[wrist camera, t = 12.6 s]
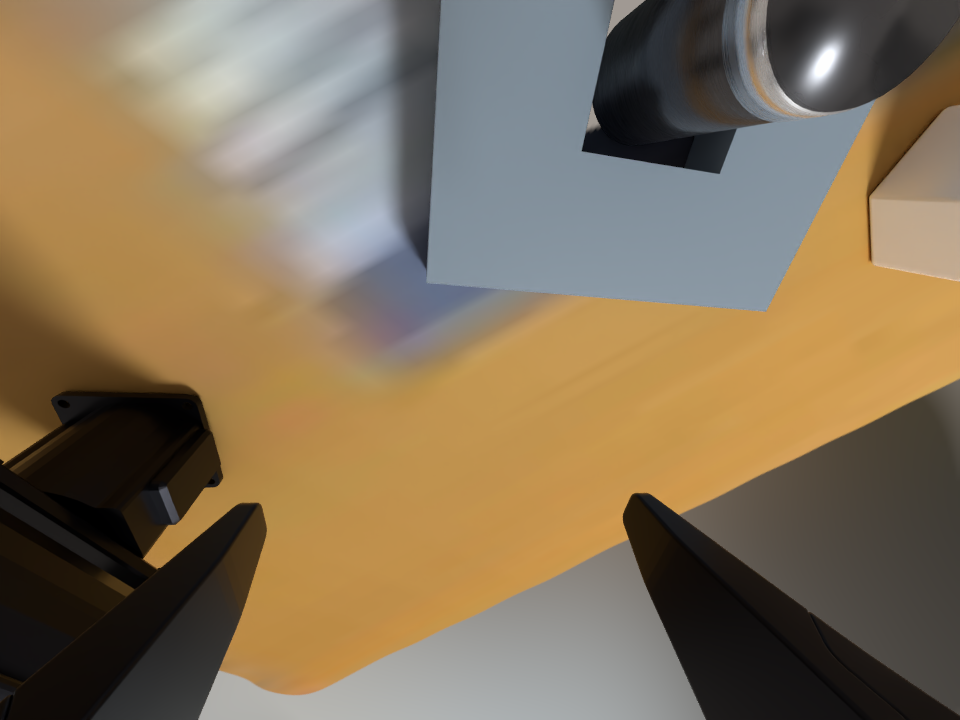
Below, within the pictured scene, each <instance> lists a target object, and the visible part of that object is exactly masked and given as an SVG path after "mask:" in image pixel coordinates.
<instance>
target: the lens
mask: <svg viewBox="0 0 960 720" xmlns="http://www.w3.org/2000/svg"><path fill="white" fill-rule="evenodd" d="M959 16H960V0H646V1H644V2H643V3H642V4H641V5H639V6H638V7H637V8H636V9H634V10H633V11H632V12H631V13H630V14H629V15H627V16H626V17H625V18H624V19H622V20H621V21H620V22H619V23H618V24H617V25H616V26H615V27H614V28H613V30H612V31H611V32H610V34H609V35H608V37H607V38H606V41H605V46H604V50H603V55H602V60H601V64H600V69H599V73H598V78H597V83H596V87H595V92H594V96H593V101H592V103H593V108H594V112H595V115H596V118H597V120H598V122H599V124H600V126H601V127H602V129H603V130H604V131H605V133H606V134H607V135H608V136H609V137H611V138H612V139H614V140H615V141H617V142H619V143H621V144H625V145H633V146H634V145H643V144H649V143H655V142H661V141H667V140H672V139H678V138H684V137H690V136H696V135H702V134H708V133H713V132H719V131H725V130H731V129H737V128H743V127H749V126H755V125H760V124H766V123H772V122H790V121H796V120H802V119H808V118H815V117H821V116H827V115H833V114H838V113H842V112H846V111H849V110H852V109H854V108H857V107H859V106H862V105H864V104H866V103H869V102H871V101H873V100H875V99H877V98H879V97H880V96H882V95H884V94H885V93H887V92H888V91H890V90H891V89H893V88H894V87H896V86H897V85H898V84H900V83H901V82H902V81H903V80H905V79H906V78H907V77H908V76H909V75H911V74H912V73H913V72H914V71H915V70H916V69H917V68H918V67H919V66H920V65H921V64H922V63H923V62H924V61H925V60H926V59H927V58H928V57H929V55H930V54H931V53H932V52H933V51H934V50H935V49H936V48H937V46H938V45H939V44H940V43H941V41H942V40H943V39H944V37H945V36H946V35H947V34H948V32H949V31H950V29H951V28H952V27H953V25H954V24H955V22H956V21H957V19H958V18H959Z"/></svg>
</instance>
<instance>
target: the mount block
mask: <svg viewBox="0 0 960 720" xmlns="http://www.w3.org/2000/svg"><path fill="white" fill-rule="evenodd" d="M613 5H614V0H441V1H440V20H439V39H438V58H437V78H436V97H435V116H434V135H433V155H432V174H431V193H430V212H429V232H428V251H427V283H433V284H445V285H457V286H469V287H481V288H493V289H504V290H516V291H528V292H540V293H552V294H564V295H576V296H587V297H599V298H611V299H623V300H635V301H647V302H659V303H670V304H682V305H694V306H706V307H718V308H730V309H742V310H753V311H765V312H766V310H767V308H768V306H769V305H770V303H771V301H772V299H773V297H774V295H775V293H776V291H777V289H778V287H779V285H780V283H781V281H782V279H783V277H784V276H785V274H786V272H787V270H788V268H789V266H790V264H791V262H792V260H793V258H794V256H795V254H796V252H797V250H798V248H799V247H800V245H801V243H802V241H803V239H804V237H805V235H806V233H807V231H808V229H809V227H810V225H811V223H812V221H813V219H814V218H815V216H816V214H817V212H818V210H819V208H820V206H821V204H822V202H823V200H824V198H825V196H826V194H827V192H828V190H829V188H830V187H831V185H832V183H833V181H834V179H835V177H836V175H837V173H838V171H839V169H840V167H841V165H842V163H843V161H844V159H845V158H846V156H847V154H848V152H849V150H850V148H851V146H852V144H853V142H854V140H855V138H856V136H857V134H858V132H859V130H860V129H861V127H862V125H863V123H864V121H865V119H866V117H867V115H868V113H869V111H870V109H871V107H872V105H873V103H874V101H875V100H876V99H875V100H873V101H871V102H869V103H866V104H864V105H862V106H859V107H857V108H854V109H852V110H849V111H846V112H842V113H838V114H833V115H827V116H821V117H815V118H808V119H802V120H796V121H790V122H772V123H766V124H760V125H755V126H749V127H743V128H737V129H731V130H725V131H719V132H713V133H708V134H702V135H696V136H695V137H694V140H693V143H692V146H691V149H690V152H689V155H688V158H687V161H686V164H685V167H684V168H679V167H673V166H667V165H660V164H654V163H648V162H642V161H636V160H630V159H624V158H618V157H612V156H606V155H600V154H594V153H588V152H582V147H583V142H584V138H585V133H586V128H587V124H588V119H589V115H590V110H591V105H592V101H593V96H594V92H595V87H596V83H597V78H598V73H599V69H600V64H601V60H602V55H603V50H604V46H605V41H606V36H607V31H608V28H609V23H610V18H611V14H612V9H613Z"/></svg>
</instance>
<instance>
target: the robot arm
mask: <svg viewBox="0 0 960 720" xmlns="http://www.w3.org/2000/svg"><path fill="white" fill-rule="evenodd" d="M51 402H52V405H53V407H54V409H55V411H56V413H57V414H58V416H59V418H60V420H61V422H62V424H63V425H61V426H60V427H58V428H57V429H55V430H54V431H52V432H51V433H49V434H48V435H46V436H45V437H43V438H42V439H40V440H39V441H37V442H36V443H34V444H33V445H32V446H30V447H29V448H27V449H26V450H24V451H23V452H21V453H20V454H18V455H17V456H15V457H14V458H12V459H11V460H9V461H8V462H6V463H5V464H3V463H4V461H2V460H1V459H0V720H198V718H199V716H200V714H201V711H202V709H203V706H204V704H205V702H206V699H207V697H208V695H209V692H210V690H211V687H212V685H213V683H214V680H215V678H216V675H217V673H218V671H219V668H220V666H221V664H222V661H223V659H224V656H225V654H226V652H227V649H228V647H229V645H230V642H231V640H232V637H233V635H234V633H235V630H236V628H237V625H238V623H239V620H240V618H241V615H242V612H243V609H244V606H245V603H246V600H247V597H248V593H249V590H250V587H251V584H252V580H253V577H254V574H255V571H256V567H257V564H258V561H259V558H260V554H261V551H262V548H263V545H264V541H265V538H266V532H267V527H266V522H265V518H264V514H263V509H262V506H261V504H259V503H240V504H238V505H236V506H235V507H233V508H232V509H231V510H230V511H229V512H227V513H226V514H225V515H224V516H223V517H221V518H220V519H219V520H218V521H217V522H215V523H214V524H213V525H212V526H211V527H209V528H208V529H207V530H206V531H205V532H203V533H202V534H201V535H200V536H199V537H197V538H196V539H195V540H194V541H193V542H191V543H190V544H189V545H188V546H187V547H185V548H184V549H183V550H182V551H181V552H179V553H178V554H177V555H176V556H175V557H173V558H172V559H171V560H170V561H169V562H167V563H166V564H165V565H164V566H163V567H161V568H158V569H157V568H155V567H154V566H152V565H151V564H149V563H148V562H146V561H145V560H143V558H144V557H145V556H146V554H147V553H148V552H149V550H150V549H151V548H152V546H153V545H154V544H155V542H156V541H157V539H158V538H159V537H160V535H161V534H162V533H163V531H164V530H165V529H166V527H167V526H168V525H175V524H177V523H178V522H179V521H180V520H181V519H182V518H183V517H184V515H185V514H186V512H187V511H188V510H189V508H190V507H191V505H192V504H193V503H194V501H195V500H196V499H197V497H198V496H199V494H200V493H201V492H202V490H203V489H204V488H206V487H216V486H218V485H219V484H220V482H221V481H222V479H223V474H222V471H221V467H220V465H221V462H220V459H219V455H218V452H217V448H216V445H215V441H214V438H213V434H212V432H211V431H210V429H209V426H208V422H207V419H206V415H205V412H204V408H203V405H202V402H201V400H200V399H199V398H198V397H197V396H194V395H190V394H153V393H112V392H71V391H66V392H62V393H60V394H58V395H57V396H55V397H53V398H52V400H51ZM186 402H187V403H190V404H191V405H192V406H190V405H188V404H187V403H186ZM2 464H3V465H2ZM623 523H624V526H625V529H626V532H627V535H628V538H629V540H630V543H631V546H632V549H633V552H634V555H635V558H636V561H637V563H638V566H639V569H640V572H641V574H642V577H643V580H644V583H645V585H646V587H647V590H648V592H649V594H650V597H651V599H652V601H653V603H654V606H655V608H656V610H657V612H658V614H659V617H660V619H661V621H662V623H663V625H664V628H665V630H666V632H667V634H668V636H669V639H670V641H671V643H672V645H673V648H674V650H675V652H676V654H677V657H678V659H679V661H680V663H681V665H682V668H683V670H684V672H685V674H686V676H687V679H688V681H689V683H690V685H691V687H692V690H693V692H694V694H695V696H696V699H697V701H698V703H699V705H700V707H701V710H702V712H703V714H704V716H705V719H706V720H960V715H958V714H957V713H955V712H954V711H952V710H951V709H949V708H948V707H946V706H944V705H943V704H941V703H940V702H939V701H937V700H936V699H934V698H933V697H931V696H930V695H928V694H927V693H925V692H924V691H922V690H921V689H919V688H918V687H916V686H915V685H913V684H912V683H910V682H909V681H908V680H906V679H905V678H903V677H902V676H900V675H899V674H897V673H896V672H894V671H893V670H891V669H890V668H888V667H887V666H886V665H884V664H883V663H881V662H880V661H878V660H877V659H875V658H874V657H872V656H871V655H869V654H868V653H867V652H865V651H864V650H862V649H861V648H860V647H858V646H857V645H855V644H854V643H852V642H851V641H850V640H848V639H847V638H846V637H844V636H843V635H841V634H840V633H839V632H837V631H836V630H834V629H833V628H831V627H830V626H829V625H828V624H826V623H825V622H823V621H822V620H821V619H820V618H818V617H817V616H815V615H814V614H813V613H811V612H808V611H807V609H806V608H804V607H803V606H802V605H800V604H799V603H798V602H796V601H795V600H794V599H792V598H791V597H789V596H788V595H787V594H785V593H784V592H782V591H781V590H780V589H779V588H777V587H776V586H774V585H773V584H772V583H770V582H769V581H767V580H766V579H765V578H763V577H762V576H761V575H760V574H758V573H757V572H755V571H754V570H753V569H751V568H750V567H749V566H747V565H746V564H745V563H743V562H742V561H741V560H739V559H738V558H736V557H735V556H734V555H732V554H731V553H729V552H728V551H727V550H726V549H724V548H723V547H721V546H720V545H719V544H717V543H716V542H715V541H713V540H712V539H711V538H709V537H708V536H706V535H705V534H704V533H702V532H701V531H699V530H698V529H697V528H696V527H694V526H693V525H692V524H690V523H689V522H687V521H686V520H685V519H683V518H682V517H681V516H679V515H678V514H677V513H675V512H674V511H673V510H671V509H670V508H668V507H667V506H666V505H664V504H663V503H662V502H660V501H659V500H658V499H656V498H655V497H653V496H652V495H651V494H648V493H634V494H633V495H631V497H630V499H629V502H628V504H627V506H626V508H625V511H624V513H623Z"/></svg>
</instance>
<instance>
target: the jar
mask: <svg viewBox="0 0 960 720" xmlns="http://www.w3.org/2000/svg"><path fill="white" fill-rule="evenodd" d="M869 208H870V235H871V261H872V264H873V265H875V266H880V267H885V268H890V269H896V270H901V271H906V272H912V273H917V274H922V275H927V276H933V277H938V278H943V279H949V280H954V281H959V282H960V105H955V106H950V107H947V108H946V109H944V110H943V111H942V112H941V113H940V114H939V115H938V116H937V118H936V119H935V120H934V121H933V122H932V123H931V125H930V126H929V127H928V128H927V129H926V130H925V132H924V133H923V134H922V135H921V136H920V138H919V139H918V140H917V141H916V142H915V143H914V145H913V146H912V147H911V148H910V149H909V150H908V152H907V153H906V154H905V155H904V156H903V157H902V159H901V160H900V161H899V162H898V163H897V164H896V166H895V167H894V168H893V169H892V170H891V172H890V173H889V174H888V175H887V176H886V177H885V179H884V180H883V181H882V182H881V183H880V184H879V186H878V187H877V188H876V189H875V190H874V191H873V193H872V194H871V195H870V197H869Z"/></svg>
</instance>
